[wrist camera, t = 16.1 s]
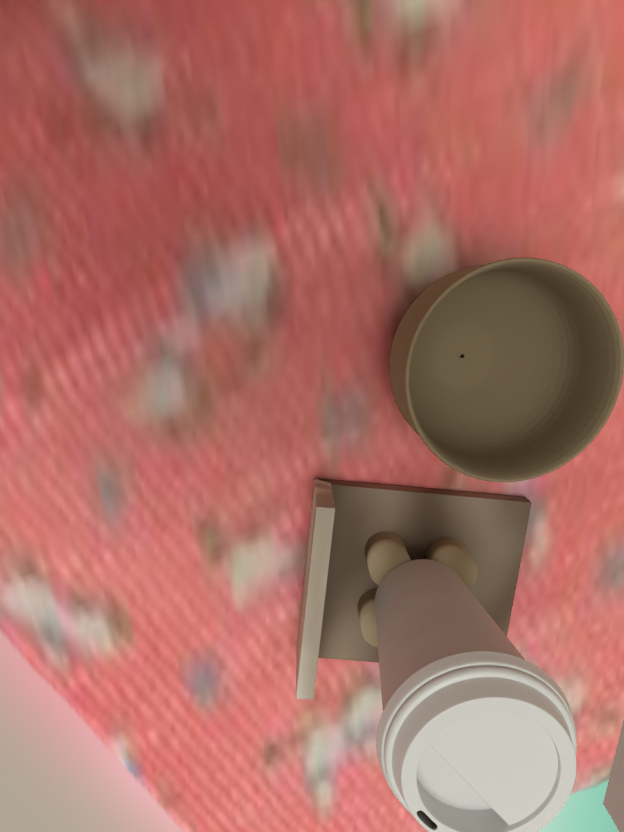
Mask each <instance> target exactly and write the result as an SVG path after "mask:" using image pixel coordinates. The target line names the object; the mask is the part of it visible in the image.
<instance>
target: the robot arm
mask: <svg viewBox="0 0 624 832" xmlns="http://www.w3.org/2000/svg"><path fill="white" fill-rule="evenodd" d="M603 804H604V806H605V808H606V809H607V811H608V813H609V814H610V816H611V818H612V819H613V821H614V823H615V825H616V826H617V828H618V830H619V831H620V832H624V720H623V724H622V728H621V733H620V737H619V741H618V745H617V749H616V753H615V757H614V761H613V766H612V770H611V774H610V778H609V782H608V786H607V790H606V795H605V799H604V803H603Z"/></svg>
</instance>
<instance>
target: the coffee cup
mask: <svg viewBox="0 0 624 832" xmlns="http://www.w3.org/2000/svg"><path fill="white" fill-rule="evenodd" d="M374 604H375V618H376V630H377V642H378V654H379V666H380V679H381V691H382V705H383V713H382V716H381V718H380V721H379V725H378V730H377V737H376V749H377V757H378V762H379V765H380V768H381V771H382V773H383V775H384V777H385V779H386V781H387V783H388V785H389V787H390V789H391V790H392V792H393V793H394V795H395V796H396V797H397V799H398V800H399V801H400V802H401V804H402V805H403V806H404V807H405V808H406V809H407V810H408V811H409V812H410V813H411V814H412V815H413V816H414V817H415V819H416V820H417V821H418V822H419V823H420V824H421V825H422V826H423V827H424V828H425V829H426V830H428V831H429V832H537V831H539V830H540V829H542V828H543V827H545V826H546V825H547V824H548V823H549V822H550V821H551V820H553V819H554V818H555V816H556V815H557V814H558V813H559V812H560V811H561V809H562V808H563V806H564V805H565V803H566V801H567V800H568V798H569V796H570V794H571V791H572V789H573V786H574V782H575V777H576V750H577V742H576V730H575V724H574V720H573V717H572V713H571V709H570V706H569V704H568V701H567V699H566V697H565V695H564V693H563V692H562V690H561V689H560V687H559V686H558V685H557V683H556V682H555V681H554V680H553V679H552V678H551V677H550V676H549V675H548V674H547V673H545V672H544V671H543V670H542V669H540V668H539V667H537V666H536V665H534V664H532V663H530V662H528V661H526V660H525V659H524V658H523V656H522V655H521V654H520V653H519V651H518V650H517V649H516V648H515V646H514V645H513V644H512V643H511V641H510V640H509V639H508V638H507V636H506V635H505V634H504V633H503V631H502V630H501V629H500V628H499V626H498V625H497V624H496V623H495V621H494V620H493V619H492V618H491V616H490V615H489V614H488V613H487V611H486V610H485V609H484V608H483V606H482V605H481V604H480V602H479V601H478V600H477V599H476V597H475V596H474V595H473V594H472V592H471V591H470V590H469V589H468V587H467V586H466V585H465V583H464V582H463V581H462V580H461V578H460V577H459V576H458V575H457V574H456V573H455V572H454V571H453V570H452V569H451V568H450V567H448V566H446V565H445V564H443V563H440V562H437V561H434V560H428V559H418V560H412V561H408V562H405V563H402V564H400V565H398V566H397V567H395V568H394V569H392V570H391V571H390V572H389V573H388V574H387V575H386V576H385V577H384V578H383V579H382V581H381V582H380V584H379V586H378V588H377V591H376V595H375V603H374Z"/></svg>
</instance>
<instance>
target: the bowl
mask: <svg viewBox="0 0 624 832" xmlns="http://www.w3.org/2000/svg"><path fill="white" fill-rule="evenodd" d="M623 367H624V351H623V343H622V337H621V333H620V329H619V326H618V323H617V320H616V318H615V315H614V313H613V311H612V309H611V307H610V306H609V304H608V302H607V301H606V299H605V298H604V297H603V295H602V294H601V293H600V292H599V291H598V289H597V288H596V287H595V286H594V285H593V284H591V283H590V282H589V281H588V280H587V279H586V278H584V277H583V276H582V275H580V274H579V273H577V272H575V271H573V270H572V269H570V268H568V267H566V266H563V265H561V264H558V263H555V262H552V261H548V260H543V259H536V258H511V259H506V260H500V261H496V262H493V263H489V264H487V265H481V266H474V267H469V268H465V269H462V270H459V271H456V272H453V273H451V274H449V275H447V276H445V277H443V278H441V279H440V280H438V281H437V282H435V283H433V284H432V285H431V286H430V287H428V288H427V289H426V290H425V291H424V292H423V293H422V294H420V295H419V296H418V298H417V299H416V300H415V301H414V302H413V303H412V304H411V306H410V307H409V309H408V310H407V311H406V313H405V315H404V316H403V318H402V320H401V322H400V324H399V326H398V328H397V330H396V333H395V336H394V339H393V343H392V347H391V353H390V364H389V368H390V381H391V387H392V391H393V395H394V398H395V400H396V403H397V405H398V407H399V410H400V411H401V413H402V415H403V416H404V418H405V419H406V421H407V422H408V423H409V425H410V426H411V427H412V428H413V429H414V430H415V431H416V432H417V433H418V434H419V435H420V437H421V438H422V440H423V441H424V443H425V444H426V445H427V447H428V448H429V449H430V450H431V451H432V452H433V453H434V454H435V455H436V456H437V457H438V458H439V459H440V460H441V461H443V462H444V463H446V464H447V465H448V466H450V467H451V468H453V469H455V470H457V471H459V472H461V473H463V474H465V475H468V476H470V477H474V478H477V479H481V480H486V481H493V482H515V481H523V480H528V479H532V478H535V477H539V476H542V475H544V474H547V473H549V472H551V471H553V470H555V469H557V468H559V467H561V466H563V465H564V464H566V463H568V462H569V461H570V460H572V459H573V458H574V457H576V456H577V455H578V454H579V453H581V452H582V451H583V450H584V449H585V448H586V447H587V446H588V445H589V444H590V443H591V442H592V441H593V440H594V438H595V437H596V436H597V435H598V433H599V432H600V431H601V429H602V428H603V426H604V425H605V423H606V421H607V420H608V418H609V416H610V414H611V412H612V410H613V408H614V405H615V403H616V400H617V397H618V394H619V391H620V387H621V383H622V376H623Z"/></svg>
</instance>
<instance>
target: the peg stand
mask: <svg viewBox="0 0 624 832" xmlns="http://www.w3.org/2000/svg"><path fill="white" fill-rule="evenodd" d="M530 507H531V502H530V501H529V500H528V499H527V498H526V497H519V496H507V495H496V494H485V493H474V492H463V491H452V490H440V489H429V488H418V487H407V486H396V485H384V484H373V483H362V482H351V481H340V480H329V479H317V478H314V487H313V496H312V506H311V515H310V525H309V534H308V544H307V554H306V563H305V573H304V582H303V592H302V601H301V611H300V620H299V630H298V639H297V668H296V698H299V699H312V700H313V699H314V691H315V682H316V673H317V664H318V658H329V659H342V660H355V661H368V662H379V654H378V642H377V630H376V618H375V604H374V603H375V595H376V591H377V588H378V586H379V584H380V582H381V581H382V579H383V578H384V577H385V576H386V575H387V574H388V573H389V572H390V571H391V570H392V569H394V568H395V567H397V566H398V565H400V564H402V563H405V562H408V561H412V560H418V559H428V560H434V561H437V562H440V563H443V564H445V565H446V566H448V567H450V568H451V569H452V570H453V571H454V572H455V573H456V574H457V575H458V576H459V577H460V578H461V580H462V581H463V582H464V583H465V585H466V586H467V587H468V589H469V590H470V591H471V592H472V594H473V595H474V596H475V597H476V599H477V600H478V601H479V602H480V604H481V605H482V606H483V608H484V609H485V610H486V611H487V613H488V614H489V615H490V616H491V618H492V619H493V620H494V621H495V623H496V624H497V625H498V626H499V628H500V629H501V630H502V631H503V633H504V634H505V635H506V636H507V632H508V626H509V621H510V616H511V610H512V605H513V599H514V594H515V588H516V583H517V578H518V572H519V567H520V561H521V556H522V550H523V545H524V540H525V534H526V529H527V523H528V518H529V513H530Z"/></svg>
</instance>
